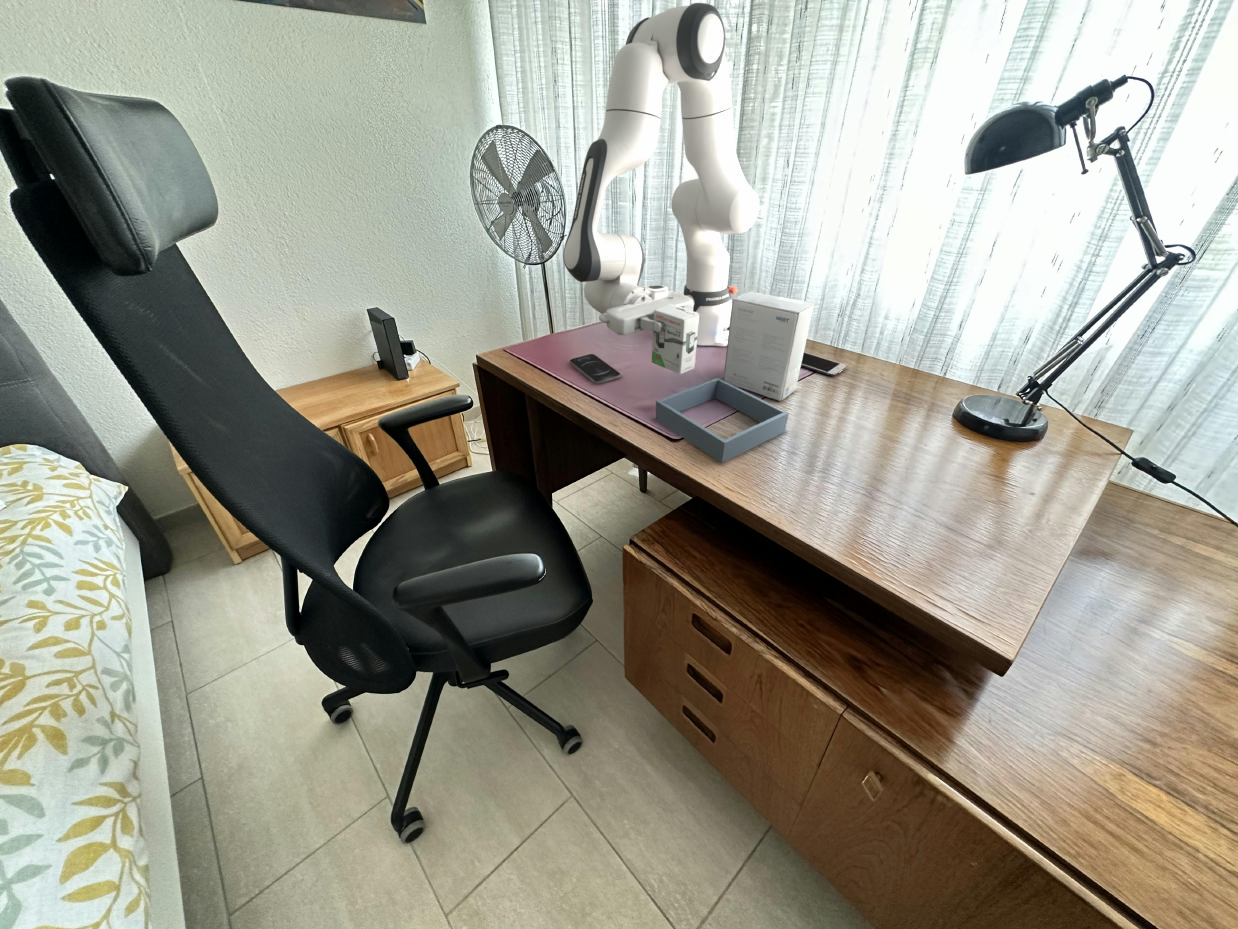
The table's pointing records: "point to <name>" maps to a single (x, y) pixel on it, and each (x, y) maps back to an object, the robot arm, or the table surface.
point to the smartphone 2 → (821, 364)
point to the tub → (732, 396)
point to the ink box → (675, 338)
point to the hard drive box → (766, 343)
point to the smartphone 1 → (595, 368)
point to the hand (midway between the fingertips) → (674, 324)
